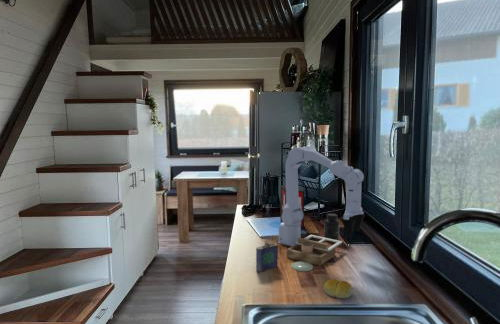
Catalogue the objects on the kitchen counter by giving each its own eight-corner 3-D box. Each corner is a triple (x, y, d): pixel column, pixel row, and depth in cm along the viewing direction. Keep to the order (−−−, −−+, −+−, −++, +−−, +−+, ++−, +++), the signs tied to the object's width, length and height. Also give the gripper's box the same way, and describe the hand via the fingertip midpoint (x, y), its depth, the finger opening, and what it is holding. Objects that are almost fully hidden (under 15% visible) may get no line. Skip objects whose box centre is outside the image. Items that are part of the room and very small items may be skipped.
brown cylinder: (299, 258, 144) (299, 244, 144) (304, 254, 148) (304, 241, 147) (309, 260, 142) (309, 246, 141) (314, 257, 145) (314, 243, 145)
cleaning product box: (303, 229, 183) (304, 191, 181) (286, 230, 182) (286, 191, 180) (296, 220, 199) (296, 185, 197) (280, 221, 198) (280, 185, 196)
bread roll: (328, 284, 122) (329, 273, 122) (355, 291, 118) (355, 279, 117) (319, 294, 115) (319, 282, 115) (347, 302, 111) (347, 289, 110)
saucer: (287, 268, 135) (287, 266, 135) (298, 261, 142) (298, 259, 141) (306, 274, 130) (306, 271, 130) (316, 266, 137) (316, 264, 137)
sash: (295, 243, 151) (295, 237, 151) (310, 235, 161) (310, 230, 161) (328, 251, 142) (328, 245, 142) (342, 242, 152) (342, 236, 152)
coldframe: (286, 257, 146) (286, 249, 146) (302, 248, 156) (302, 240, 156) (320, 266, 137) (320, 257, 136) (335, 256, 147) (335, 248, 147)
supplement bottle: (339, 242, 163) (340, 216, 162) (324, 241, 165) (324, 216, 163) (338, 237, 170) (339, 213, 168) (324, 237, 171) (324, 212, 170)
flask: (258, 273, 131) (258, 244, 130) (254, 270, 134) (254, 242, 133) (279, 267, 136) (279, 240, 135) (274, 265, 139) (274, 238, 137)
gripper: (356, 204, 135) (355, 240, 136) (370, 198, 146) (368, 230, 148) (338, 202, 139) (337, 236, 141) (353, 195, 150) (352, 227, 152)
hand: (352, 233), depth 145 cm, fingers open, 7 cm apart
